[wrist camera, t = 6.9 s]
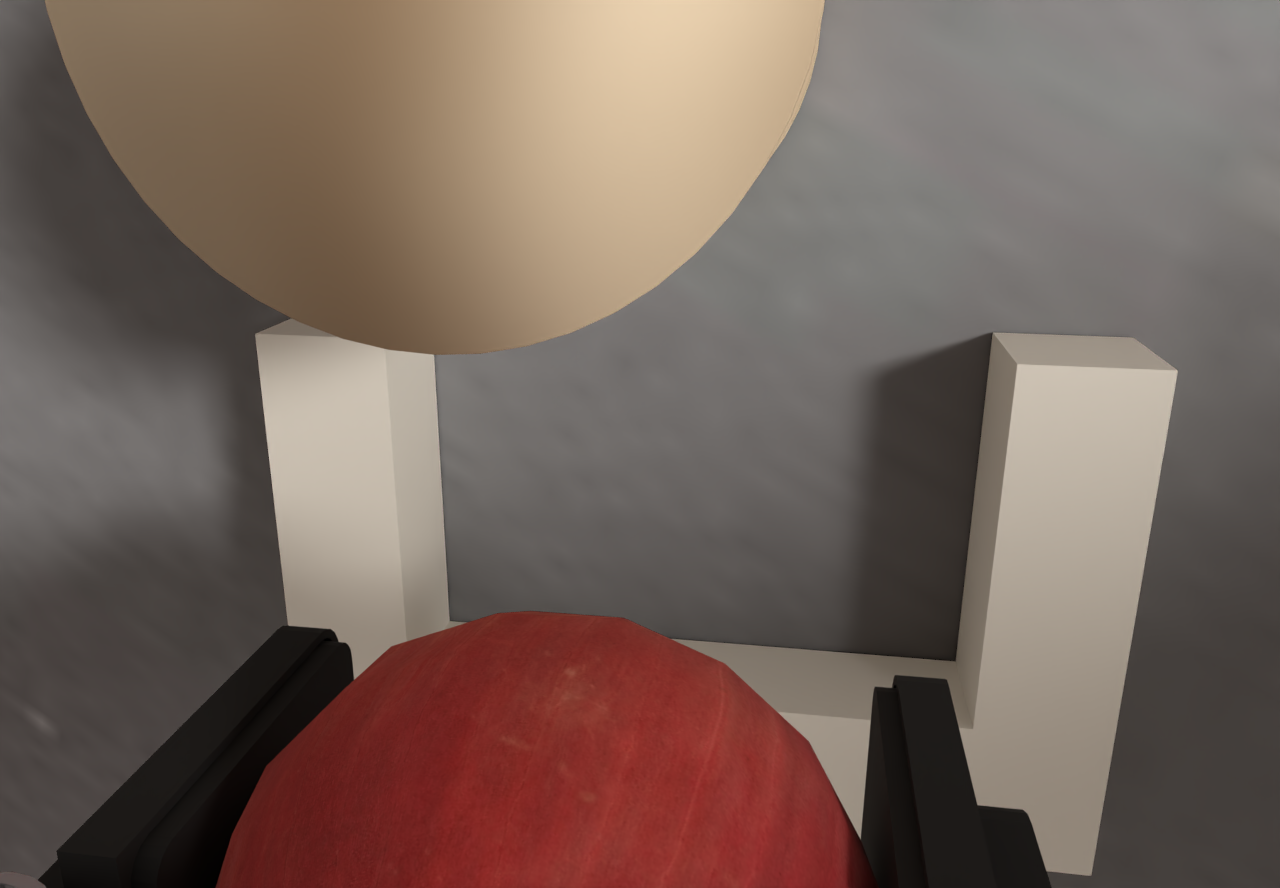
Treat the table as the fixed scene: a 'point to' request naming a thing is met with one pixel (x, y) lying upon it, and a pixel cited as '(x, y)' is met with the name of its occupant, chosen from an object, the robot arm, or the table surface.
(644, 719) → the onion
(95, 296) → the table surface
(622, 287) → the spool
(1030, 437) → the notch board
